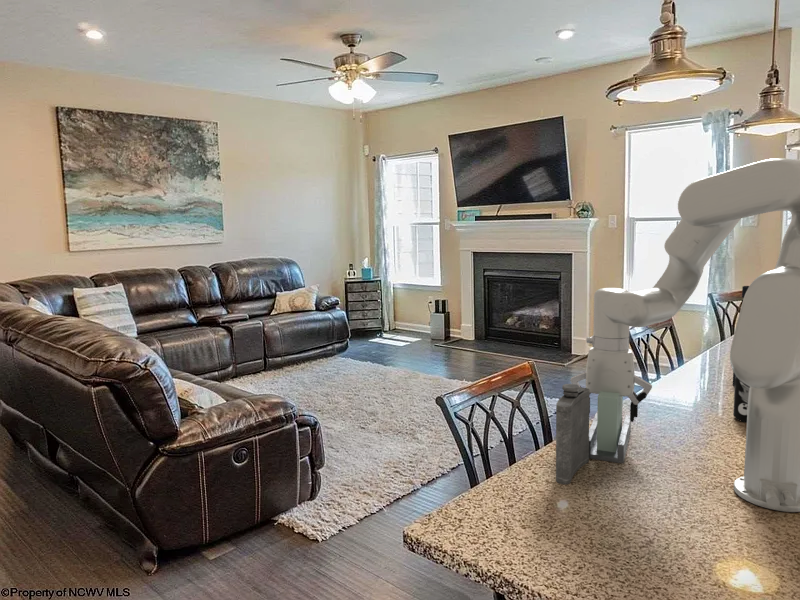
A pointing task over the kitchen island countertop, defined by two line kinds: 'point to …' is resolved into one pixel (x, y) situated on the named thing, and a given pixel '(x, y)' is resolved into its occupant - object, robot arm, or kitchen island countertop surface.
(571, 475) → the flask
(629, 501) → the kitchen island countertop surface
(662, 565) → the kitchen island countertop surface
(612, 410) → the door panel
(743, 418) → the beverage can
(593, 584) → the kitchen island countertop surface
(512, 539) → the kitchen island countertop surface
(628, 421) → the strip
